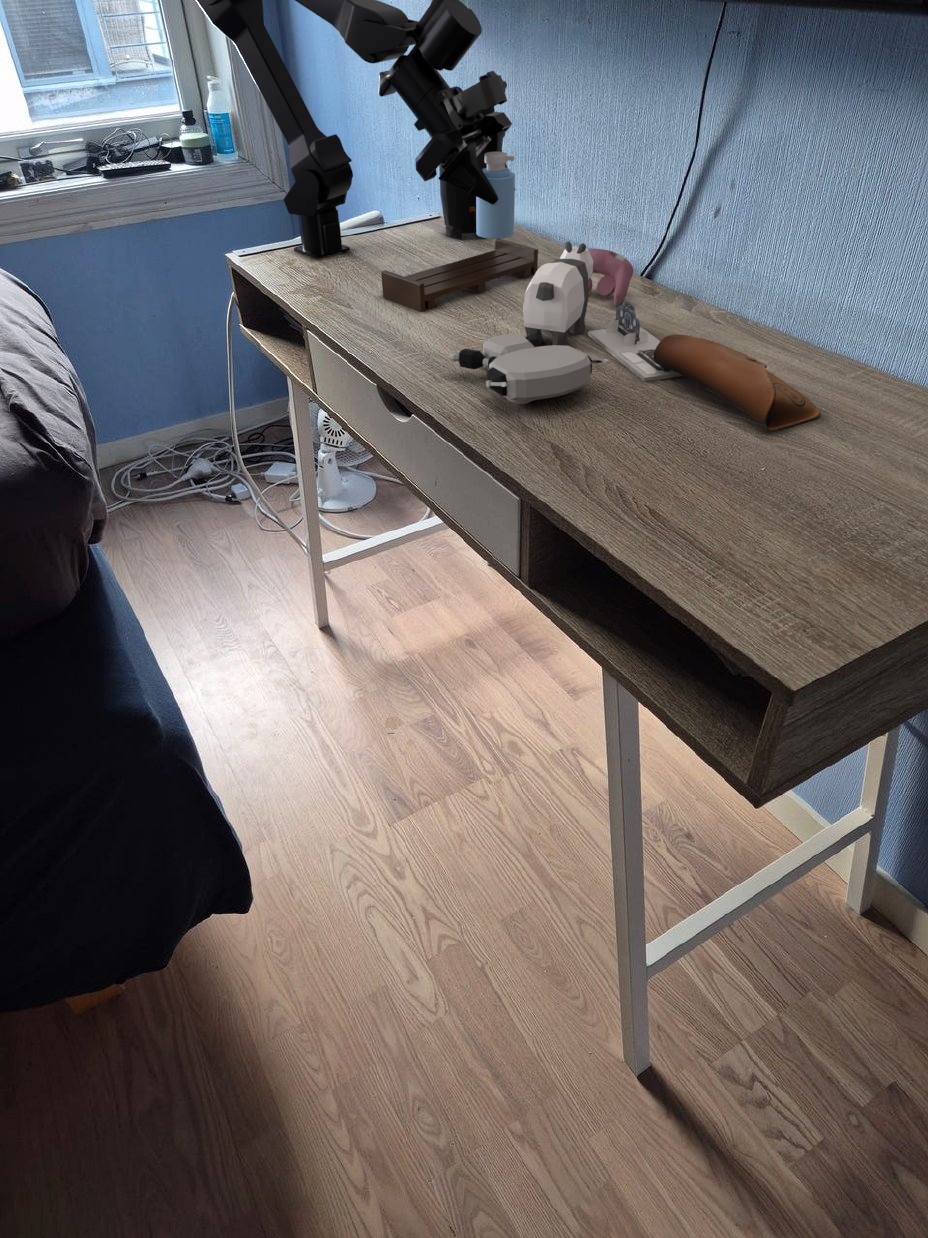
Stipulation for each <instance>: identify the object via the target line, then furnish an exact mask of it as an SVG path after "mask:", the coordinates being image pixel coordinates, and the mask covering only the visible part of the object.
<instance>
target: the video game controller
mask: <svg viewBox="0 0 928 1238" xmlns="http://www.w3.org/2000/svg"><path fill="white" fill-rule="evenodd" d="M587 249H588V250H589V252H590V255H591V257H592V259H593V273H592V274H601V275H604V276H603V277H601V278H600V279H599V280H598V282H597V284H596V291H597V294H599V295H600V296H601V297H603V298H609V297H612V296H613V302H614V305H615V306H617V307H618V306H621V305H622V304H623V302H624V301H625V299H626V297H627V294H628V291H629V288H630V283H631V279H632V277H633V275H634V266H633V264H632V263H631V262H630V261H629V260H628V259H627V258H626V257H624V255H623V254H621V253H617V252H615V251H613V250H609V249H604V248H593V247H592V248H591V247H590V248H587ZM588 285H589V293H590V292H591V291H592V289H593V280H592V277H590V278H589V279H588Z"/></svg>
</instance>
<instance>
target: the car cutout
mask: <svg viewBox="0 0 928 1238" xmlns="http://www.w3.org/2000/svg"><path fill="white" fill-rule="evenodd" d="M587 336H588V337H589V338H591V339H592V340H593V341H594V342H596V343H597V344H598V345H599V346H600V347H602V348H603V349H604V350H605V351H606V352H607V353H609V354H610V355H611V356H613V357H614V358H615V359H616V360H617V361H619V362H620V363H621V364H622V365H623V366H625V367H626V368H627V369H628V370H629V371H631V372H632V373H633V374H634V375H635V376H637V377H638V378H639V379H640V380H642V381H643V382H645V383H646V382H652V381H658V380H665V379H670V378H671V379H672V378H677V377H683V376H682V375H681V374H680V373H676V372H674V371H673V370H671V369H668V368H666V367H664V366H662V365H659V364H656V363H655V361H654V352H655V349H656V347H657V345H658V344H659V343H660V341H661V340H659V338H657V337H655V335H652V334H651V333H650V332H648V330H646V329H644V328H643V327H642V326H641V322H640V320H639V318H638V317H637V313H636V308H635V306H634V305H633V304H632V303H630V302H629V301H627V300H624V301H623V302H622V304H621V305H619V306H617V308H616V312H615V319H614V320H610V321H608V322H607V323H606V325H605V328H601V329H595V330H588V331H587Z"/></svg>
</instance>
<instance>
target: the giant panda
mask: <svg viewBox="0 0 928 1238" xmlns="http://www.w3.org/2000/svg"><path fill="white" fill-rule="evenodd" d="M588 249H589V248H587V245H586V244H585V243H584V242H582V243H579V246H572V243H571V242H570V241H567V242H565V243H564V250H563V252H562V253H561V255H560V257H559V258H555V259H554V260H552V261H549V262H547V263H544V264H542V265H541V266H539V268H537V271H536V273H535V275H533V276H532V279H530V282H529V283H528V285H527V287H526V290H525V293H524V299H523V305H522V319H523V326H524V330H525V332H526V337H527V336H529V335H537V336H539V337H540V340H541V344H543V342H544V337H543V334H542V330H543V331H550V333H551V336H552V344H551V345H561V346H569V341H568V333H569V334H573V335H579V334H581V333H583V332H584V331H585V330H586V315H587V310H588V309H587V308H588V303H589V298H590V292H589V285H588V279H589V278H591V277H592V274H594V273H593V259H592V257H591V255H590V252H589V250H588Z"/></svg>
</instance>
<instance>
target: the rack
mask: <svg viewBox="0 0 928 1238" xmlns="http://www.w3.org/2000/svg"><path fill="white" fill-rule="evenodd" d="M538 264H539V248H535V247H532V246H529V245H525V244H521V243H517V242H514V241H510V240H506V239H504V238H501V239H494V250H491V251H487V252H484V253H483V252H482V253H480V254H476V255H474V256H470V257H466V258H463V259H460V260H455V261H453V262H449V263H445V264H443V265H439V266H436V267H433V268H428V269H425V270H422V271H418V272H414V273H411V274H408V275H401V274H398V273H395V272H392V271H389V270H386V269H385V270H381V271H380V274H381V275H380V276H381V286H382V287H381V288H382V299H385V300H389V301H391V302H394V303H396V304H398V305H402V306H405V307H408V308H410V309H412V310H415V311H417V312H425V311H426V309H427V310H431V309H434V308H437V298H439V297H443V296H446V295H450V294H453V293H455V292H459V291H462V290H467V291H470V292H473V293H476V294H481V293H484V292H486V289H487V285H486V283H487V282H490V281H493V280H497V279H500V278H503V277H507V276H510V275H512V276H515V277H518V278H522V279H527V278H530V277H532V276H534V275H535V273H536V271H537V270H538V269H539V268H538V266H539V265H538Z"/></svg>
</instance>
